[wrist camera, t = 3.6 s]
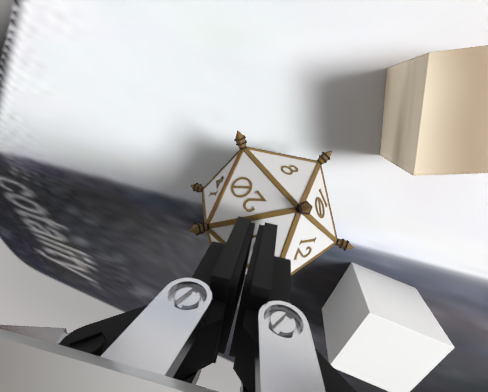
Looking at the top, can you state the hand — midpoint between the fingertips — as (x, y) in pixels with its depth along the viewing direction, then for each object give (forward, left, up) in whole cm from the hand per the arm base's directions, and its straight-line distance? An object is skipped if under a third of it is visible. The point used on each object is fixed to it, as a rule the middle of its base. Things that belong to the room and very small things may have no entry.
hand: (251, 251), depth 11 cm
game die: (0, 0, -8) cm, 8 cm away
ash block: (-8, -7, -8) cm, 13 cm away
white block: (-9, +7, -8) cm, 14 cm away
